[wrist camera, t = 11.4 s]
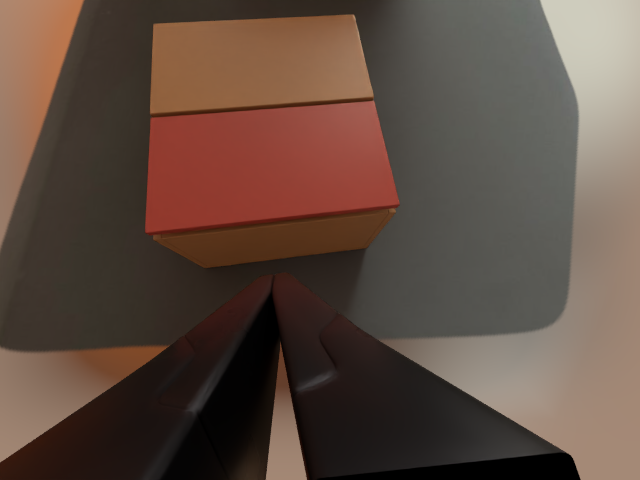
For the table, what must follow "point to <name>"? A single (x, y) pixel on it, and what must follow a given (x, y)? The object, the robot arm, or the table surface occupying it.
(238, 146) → the flap
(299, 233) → the carton
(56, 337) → the table surface
